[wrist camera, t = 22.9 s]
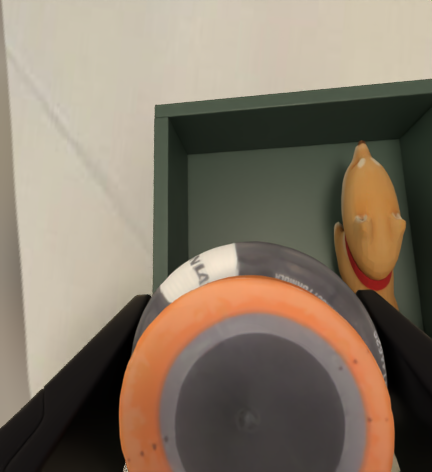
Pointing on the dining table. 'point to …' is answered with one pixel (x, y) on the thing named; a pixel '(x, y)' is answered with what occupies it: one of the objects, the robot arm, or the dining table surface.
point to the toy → (369, 230)
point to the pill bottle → (256, 370)
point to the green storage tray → (293, 176)
